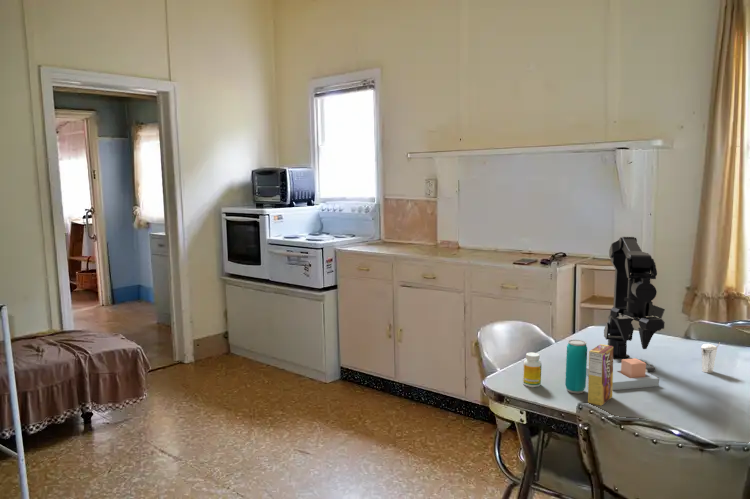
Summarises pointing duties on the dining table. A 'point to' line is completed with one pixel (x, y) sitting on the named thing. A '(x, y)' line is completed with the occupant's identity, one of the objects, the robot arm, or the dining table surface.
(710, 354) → the milkshake
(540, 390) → the dining table surface
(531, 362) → the supplement bottle
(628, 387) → the outlet plate
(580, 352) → the beverage can
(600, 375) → the candy box
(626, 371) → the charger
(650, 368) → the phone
